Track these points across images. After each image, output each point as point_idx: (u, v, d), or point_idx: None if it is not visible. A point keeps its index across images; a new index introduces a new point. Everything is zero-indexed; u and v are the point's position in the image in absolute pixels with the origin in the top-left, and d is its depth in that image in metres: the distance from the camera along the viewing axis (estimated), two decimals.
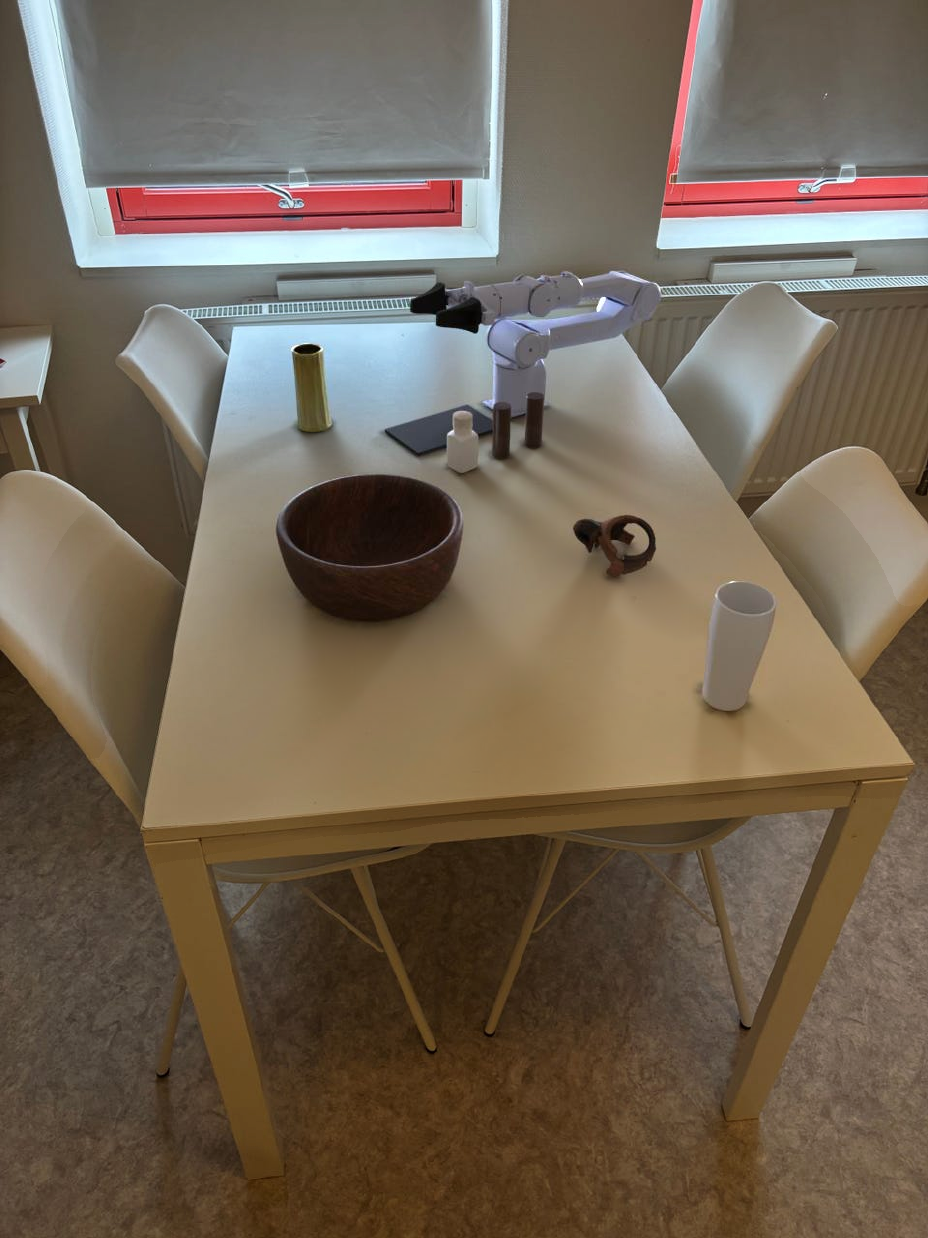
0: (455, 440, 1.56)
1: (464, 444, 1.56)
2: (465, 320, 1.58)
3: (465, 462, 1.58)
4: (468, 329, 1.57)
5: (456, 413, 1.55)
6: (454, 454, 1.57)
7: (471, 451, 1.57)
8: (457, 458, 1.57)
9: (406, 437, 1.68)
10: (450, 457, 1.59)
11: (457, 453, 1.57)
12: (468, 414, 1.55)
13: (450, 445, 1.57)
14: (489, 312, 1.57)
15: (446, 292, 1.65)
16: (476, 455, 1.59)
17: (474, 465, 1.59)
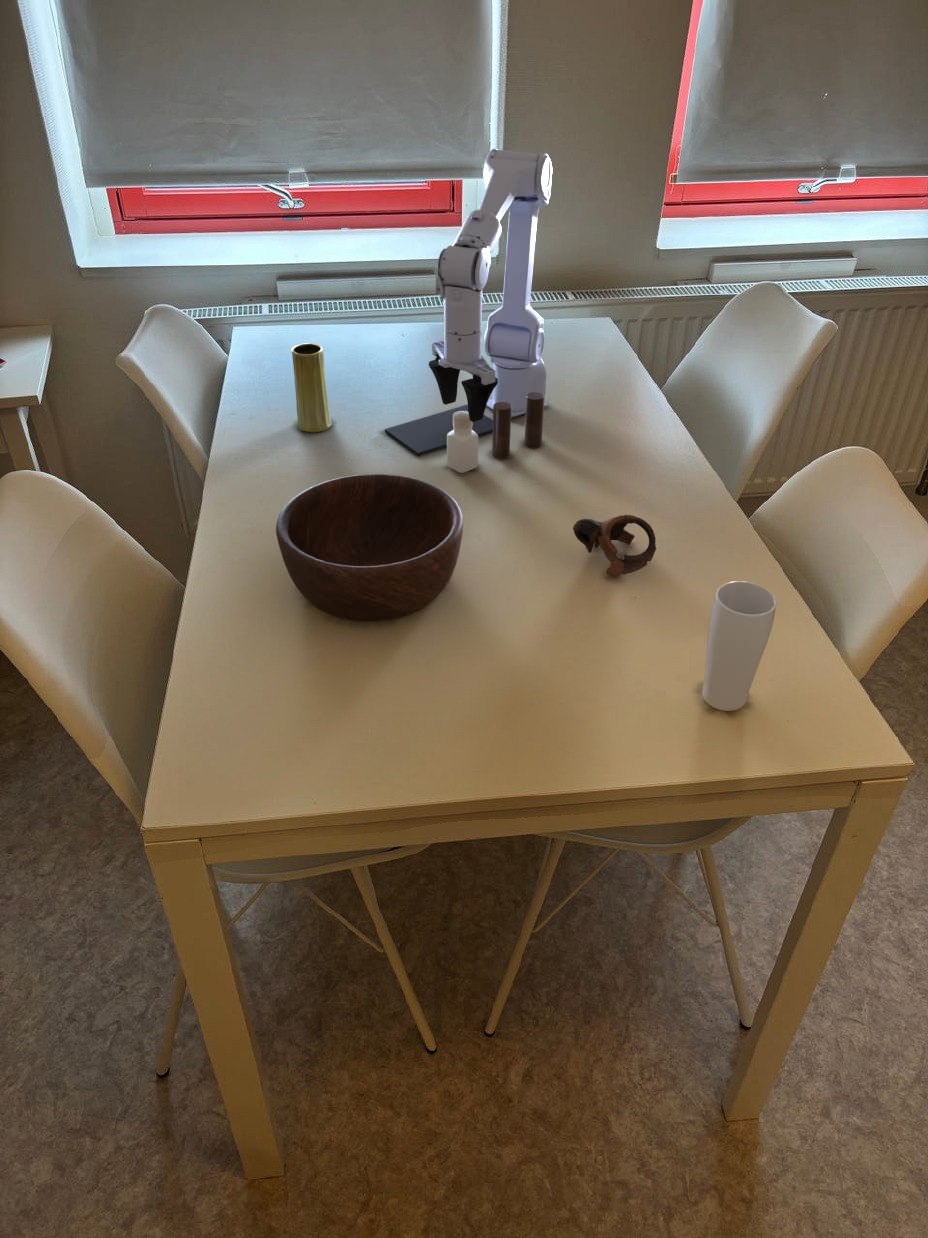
0: (455, 440, 1.56)
1: (464, 444, 1.56)
2: (482, 387, 1.49)
3: (465, 462, 1.58)
4: (492, 389, 1.49)
5: (456, 413, 1.55)
6: (454, 454, 1.57)
7: (471, 451, 1.57)
8: (457, 458, 1.57)
9: (406, 437, 1.68)
10: (450, 457, 1.59)
11: (457, 453, 1.57)
12: (468, 414, 1.55)
13: (450, 445, 1.57)
14: (483, 378, 1.45)
15: None
16: (476, 455, 1.59)
17: (474, 465, 1.59)
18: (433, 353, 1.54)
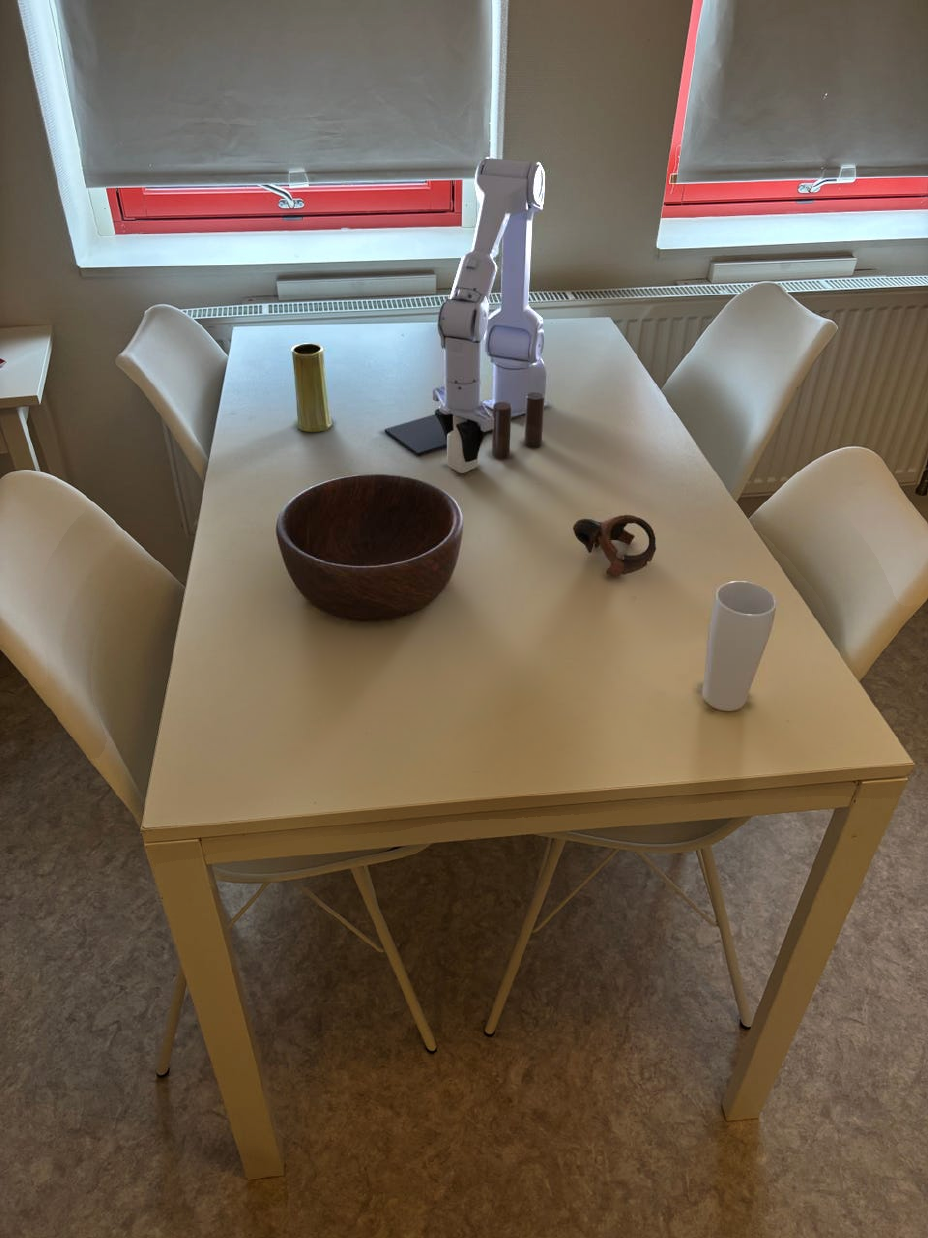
0: (456, 440, 1.56)
1: None
2: (476, 429, 1.54)
3: (465, 462, 1.58)
4: (486, 431, 1.54)
5: None
6: (454, 454, 1.57)
7: None
8: (457, 458, 1.57)
9: (406, 437, 1.68)
10: (450, 457, 1.59)
11: (457, 453, 1.57)
12: None
13: (451, 445, 1.57)
14: (482, 425, 1.49)
15: None
16: None
17: (474, 465, 1.59)
18: (434, 398, 1.59)
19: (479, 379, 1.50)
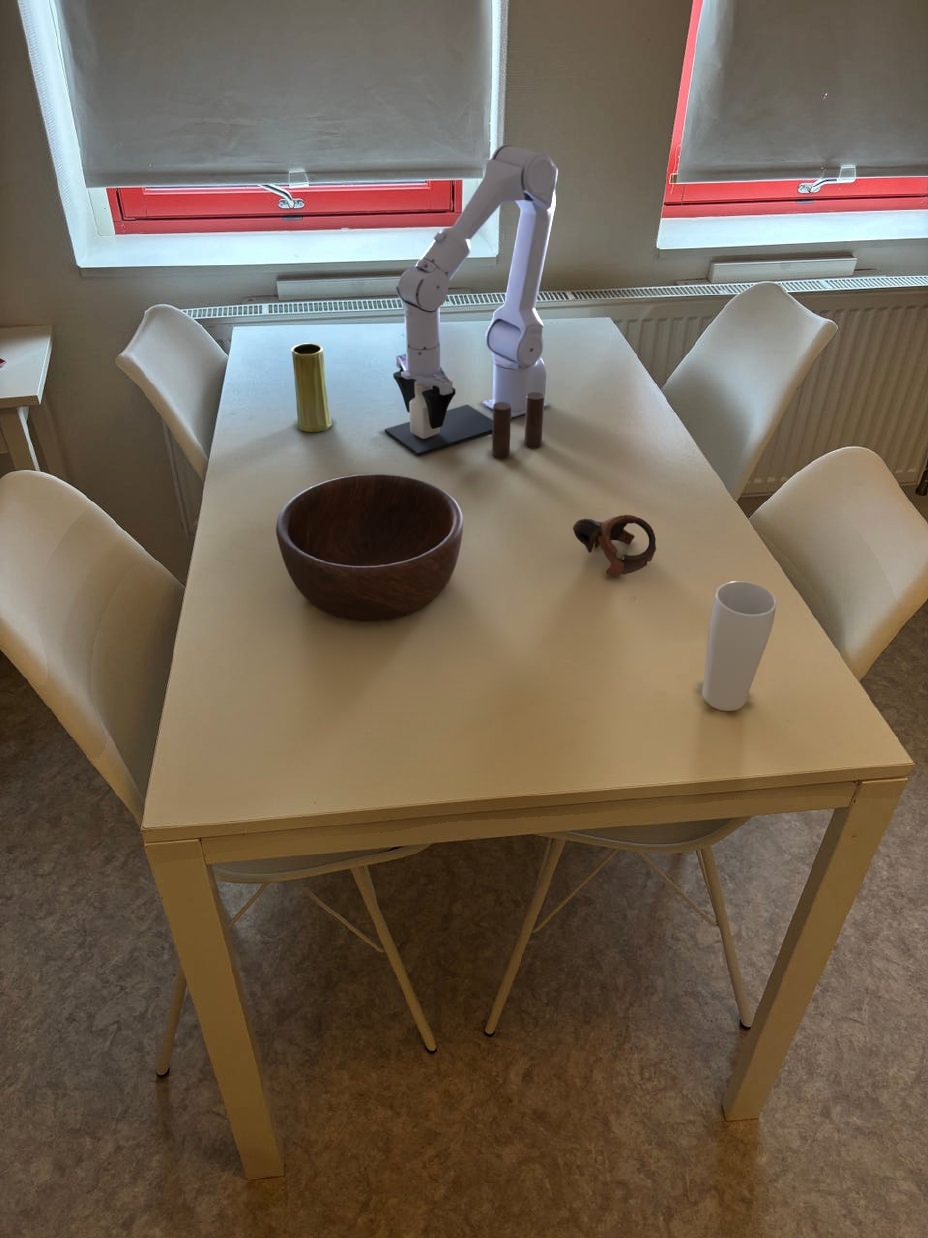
0: (417, 406, 1.64)
1: (426, 410, 1.64)
2: (442, 397, 1.62)
3: (427, 428, 1.66)
4: (451, 399, 1.62)
5: (418, 381, 1.64)
6: (416, 420, 1.66)
7: None
8: (419, 424, 1.66)
9: (406, 437, 1.68)
10: (413, 423, 1.67)
11: (419, 419, 1.65)
12: None
13: (413, 411, 1.66)
14: (441, 389, 1.58)
15: None
16: None
17: (436, 431, 1.68)
18: (397, 365, 1.67)
19: (438, 345, 1.58)
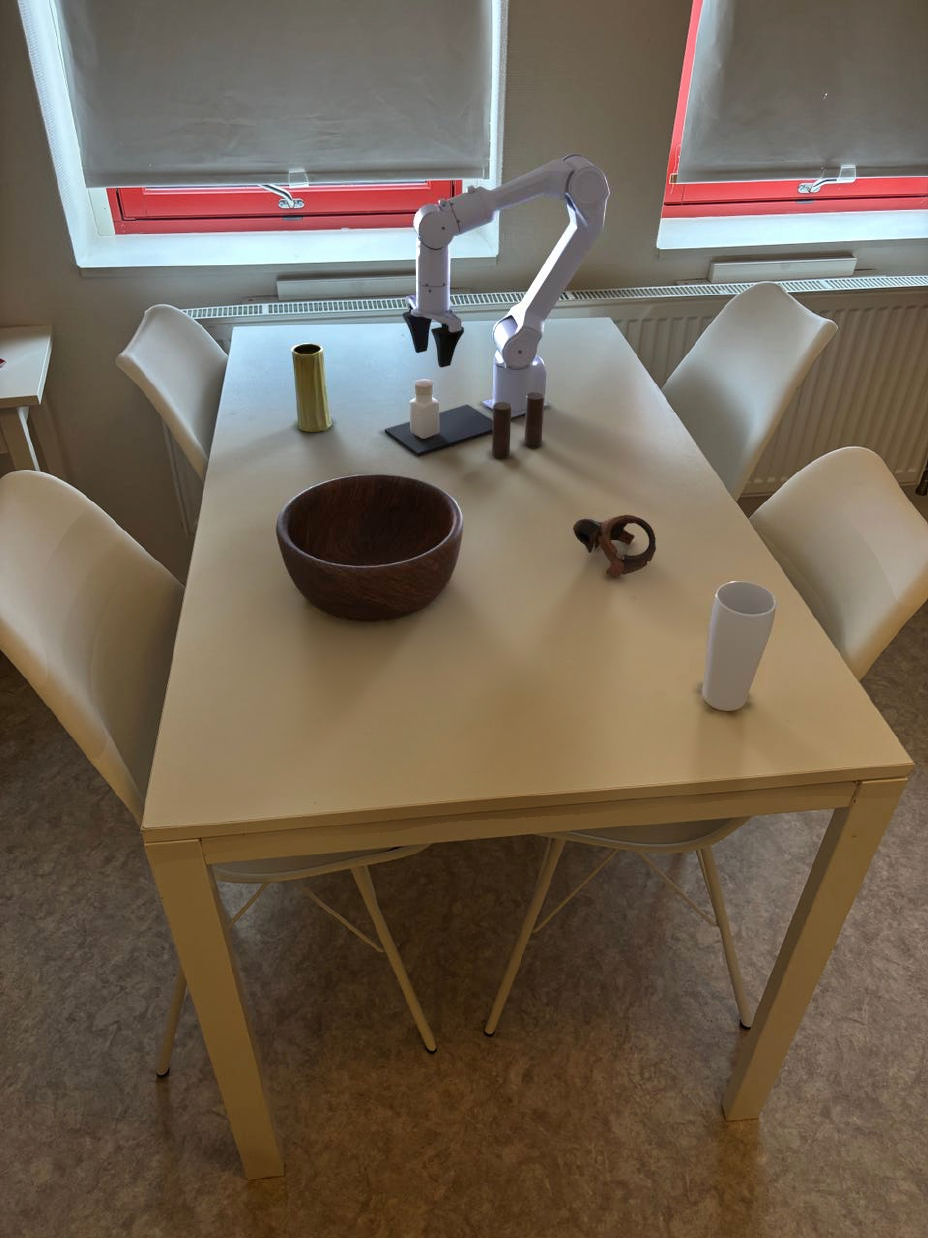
0: (417, 406, 1.64)
1: (426, 410, 1.64)
2: (450, 335, 1.65)
3: (427, 428, 1.66)
4: (459, 337, 1.65)
5: (418, 381, 1.64)
6: (416, 420, 1.66)
7: (432, 417, 1.66)
8: (419, 424, 1.66)
9: (406, 437, 1.68)
10: (413, 423, 1.67)
11: (419, 419, 1.65)
12: (429, 382, 1.63)
13: (413, 411, 1.66)
14: (450, 326, 1.61)
15: None
16: (437, 421, 1.67)
17: (436, 431, 1.68)
18: (407, 305, 1.70)
19: (448, 283, 1.62)
